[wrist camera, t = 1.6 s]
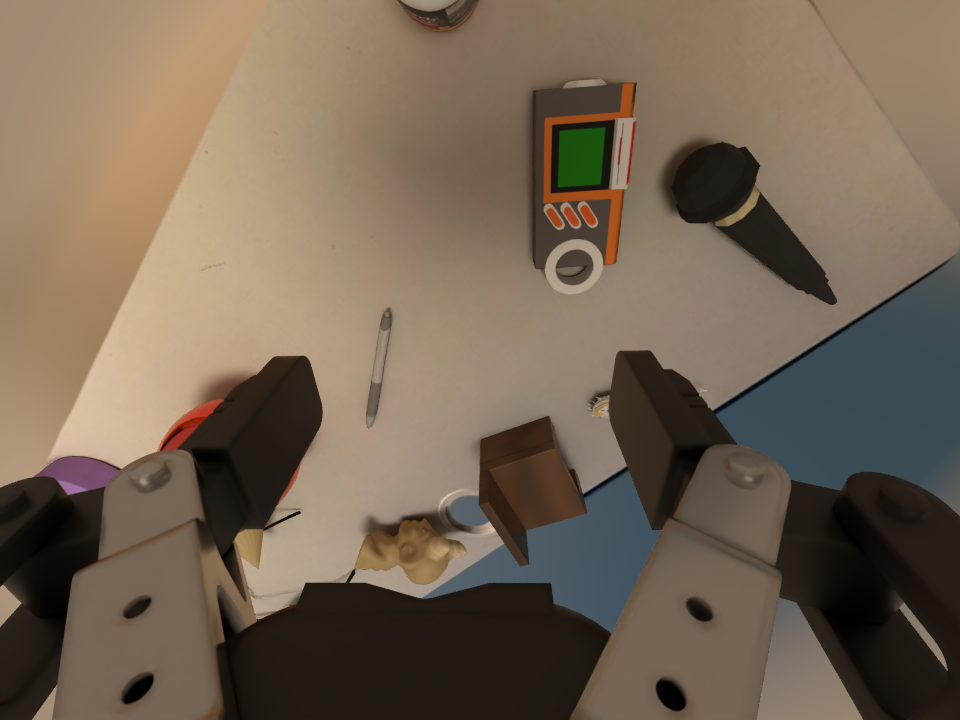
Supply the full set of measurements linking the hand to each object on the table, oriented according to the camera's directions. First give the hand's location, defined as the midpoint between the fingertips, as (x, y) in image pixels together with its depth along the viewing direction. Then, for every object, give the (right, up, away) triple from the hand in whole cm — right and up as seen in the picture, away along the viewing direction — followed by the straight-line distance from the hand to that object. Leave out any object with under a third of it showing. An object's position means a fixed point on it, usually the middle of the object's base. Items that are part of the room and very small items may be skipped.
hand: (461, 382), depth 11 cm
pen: (-10, 0, +31) cm, 32 cm away
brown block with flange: (+6, -11, +36) cm, 38 cm away
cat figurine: (-8, -21, +43) cm, 48 cm away
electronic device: (+8, +14, +22) cm, 27 cm away
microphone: (+23, +11, +24) cm, 35 cm away
